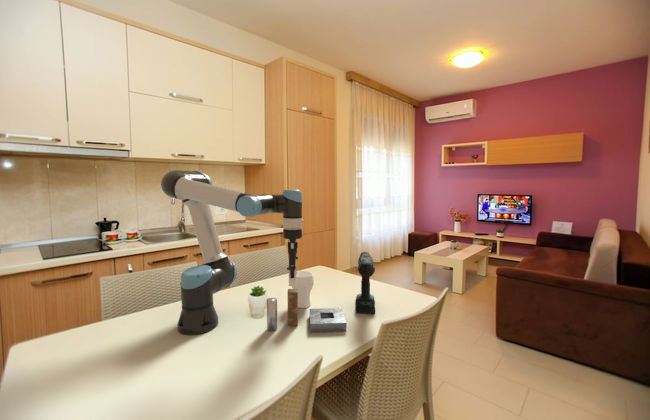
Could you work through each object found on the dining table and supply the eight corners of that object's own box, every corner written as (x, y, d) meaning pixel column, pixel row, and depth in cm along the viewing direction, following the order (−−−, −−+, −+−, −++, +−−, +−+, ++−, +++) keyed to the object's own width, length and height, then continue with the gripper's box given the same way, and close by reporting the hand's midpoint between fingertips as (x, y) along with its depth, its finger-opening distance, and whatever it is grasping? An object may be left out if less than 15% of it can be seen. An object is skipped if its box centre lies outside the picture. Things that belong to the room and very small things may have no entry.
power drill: (372, 298, 149) (373, 249, 147) (376, 318, 127) (377, 261, 125) (355, 297, 150) (355, 249, 148) (355, 317, 127) (356, 260, 125)
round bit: (266, 331, 115) (266, 301, 114) (267, 326, 119) (267, 297, 118) (276, 331, 116) (276, 301, 115) (277, 326, 119) (277, 297, 118)
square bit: (287, 326, 120) (287, 292, 119) (288, 321, 124) (287, 289, 123) (297, 325, 120) (297, 292, 119) (297, 321, 124) (297, 288, 123)
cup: (303, 311, 134) (303, 279, 132) (286, 305, 140) (286, 274, 139) (318, 304, 142) (318, 273, 141) (301, 298, 149) (301, 269, 147)
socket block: (310, 332, 115) (310, 323, 114) (309, 316, 128) (309, 308, 128) (346, 331, 116) (346, 322, 115) (341, 315, 130) (341, 307, 129)
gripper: (302, 233, 107) (302, 290, 108) (301, 224, 131) (302, 271, 133) (281, 233, 106) (281, 291, 108) (284, 224, 131) (285, 271, 133)
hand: (292, 280), depth 120 cm, fingers open, 13 cm apart
